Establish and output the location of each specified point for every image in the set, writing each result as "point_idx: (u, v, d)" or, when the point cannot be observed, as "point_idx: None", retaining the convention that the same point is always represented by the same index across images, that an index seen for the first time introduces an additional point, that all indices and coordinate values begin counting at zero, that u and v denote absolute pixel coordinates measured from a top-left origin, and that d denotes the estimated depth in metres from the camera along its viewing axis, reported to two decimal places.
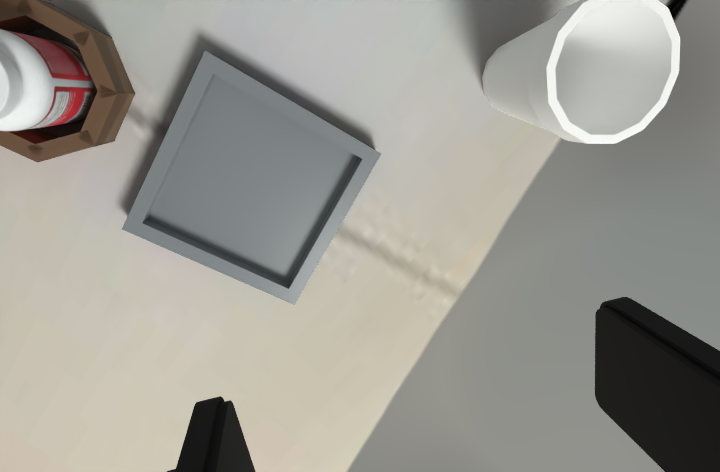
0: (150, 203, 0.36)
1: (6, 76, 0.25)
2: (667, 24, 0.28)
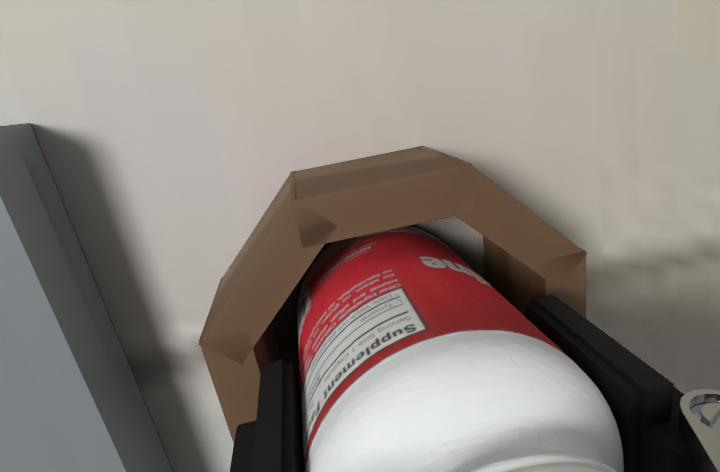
0: None
1: None
2: None
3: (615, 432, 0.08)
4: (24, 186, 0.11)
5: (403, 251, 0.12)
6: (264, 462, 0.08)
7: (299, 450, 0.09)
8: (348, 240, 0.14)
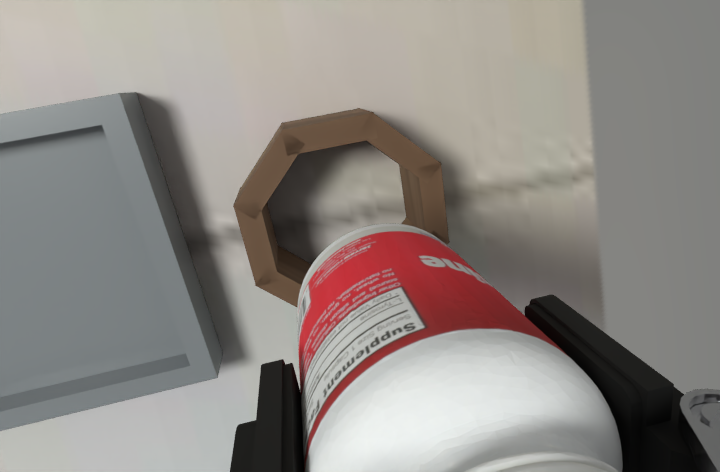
0: (118, 164, 0.21)
1: None
2: None
3: (614, 430, 0.08)
4: (137, 125, 0.21)
5: (402, 250, 0.12)
6: (264, 462, 0.08)
7: (299, 450, 0.09)
8: (348, 239, 0.14)
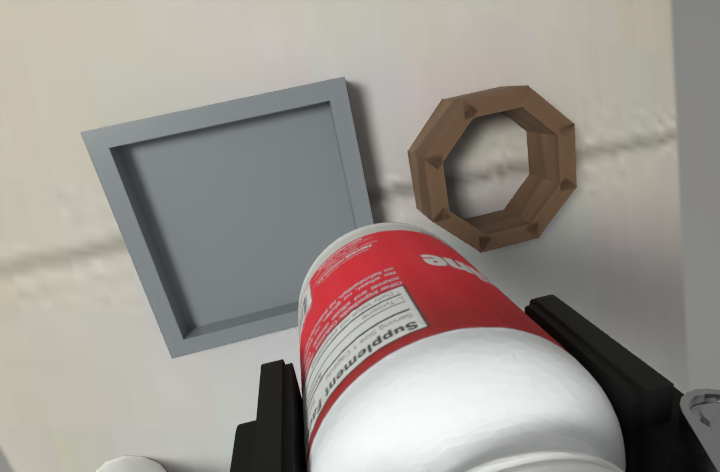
0: (337, 130, 0.28)
1: None
2: None
3: (617, 429, 0.08)
4: None
5: (404, 248, 0.12)
6: (264, 462, 0.08)
7: (299, 450, 0.09)
8: (349, 238, 0.14)
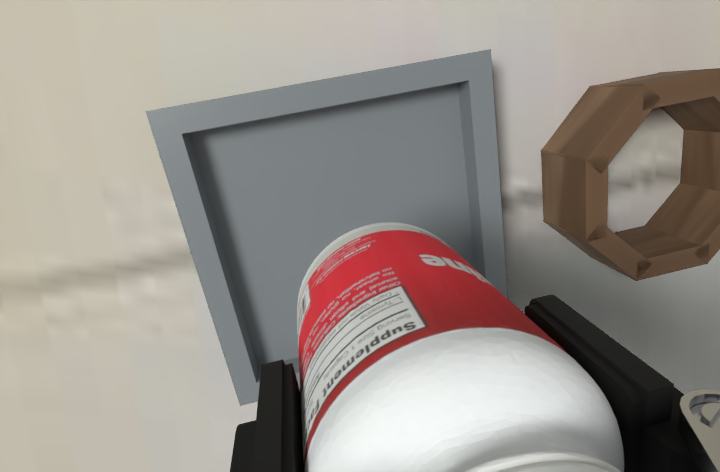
0: (473, 119, 0.22)
1: None
2: None
3: (616, 430, 0.08)
4: None
5: (402, 248, 0.12)
6: (264, 462, 0.08)
7: (299, 450, 0.09)
8: (348, 238, 0.14)
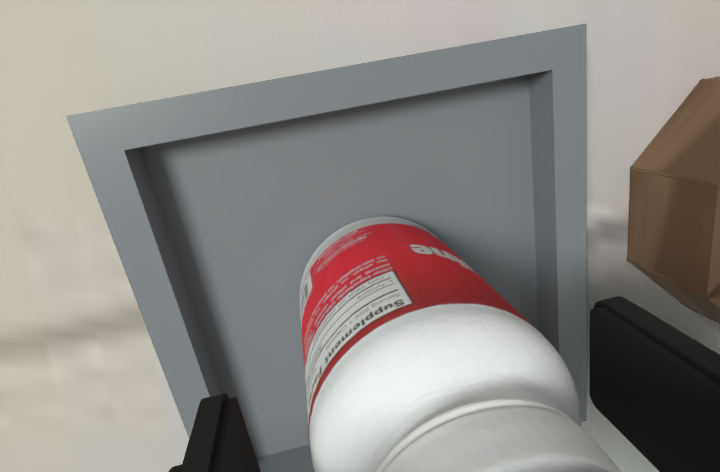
0: (555, 127, 0.15)
1: None
2: None
3: (572, 389, 0.09)
4: None
5: (395, 239, 0.13)
6: None
7: None
8: (346, 231, 0.15)
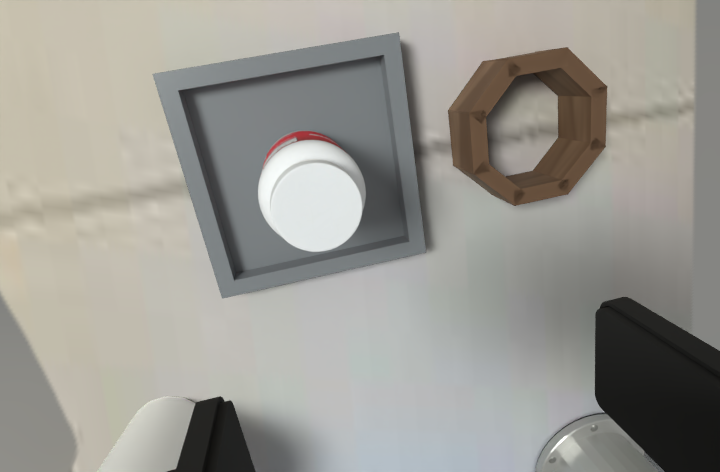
0: (389, 83, 0.30)
1: (286, 240, 0.22)
2: None
3: (356, 172, 0.24)
4: None
5: (304, 133, 0.28)
6: None
7: None
8: (285, 135, 0.30)
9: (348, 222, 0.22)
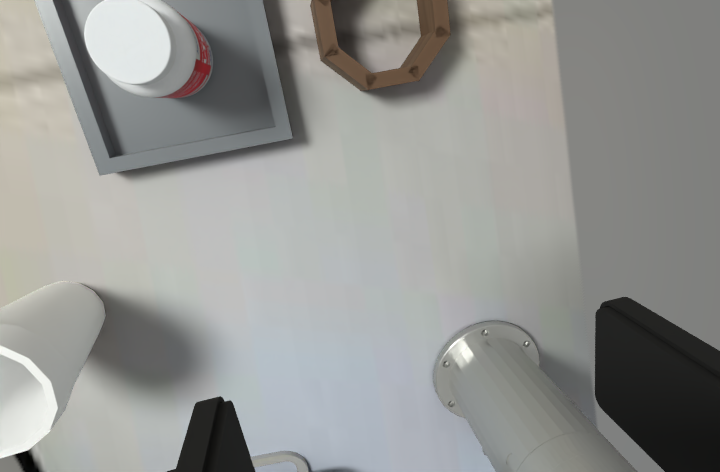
0: None
1: (102, 70, 0.25)
2: None
3: (178, 22, 0.27)
4: None
5: None
6: None
7: None
8: None
9: (158, 55, 0.25)
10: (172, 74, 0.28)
